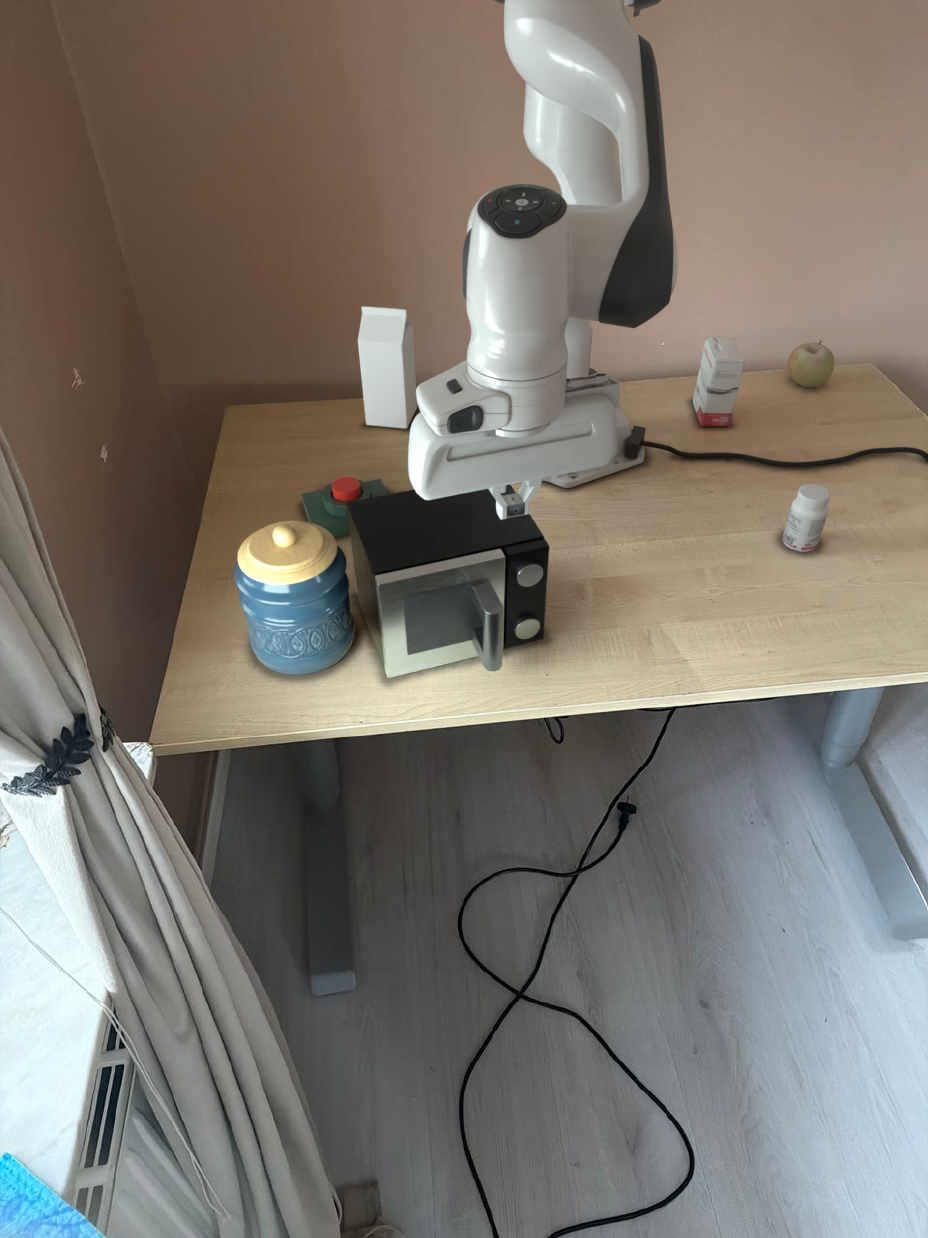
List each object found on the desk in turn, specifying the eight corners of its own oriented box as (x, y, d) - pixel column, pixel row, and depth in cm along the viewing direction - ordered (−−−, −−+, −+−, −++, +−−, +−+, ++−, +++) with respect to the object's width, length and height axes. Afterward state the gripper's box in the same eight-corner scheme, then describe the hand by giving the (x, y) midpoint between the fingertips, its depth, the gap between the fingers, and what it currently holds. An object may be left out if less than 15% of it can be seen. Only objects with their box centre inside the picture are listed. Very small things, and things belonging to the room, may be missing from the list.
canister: (362, 668, 108) (347, 553, 96) (253, 685, 106) (224, 571, 94) (349, 598, 117) (334, 486, 105) (249, 613, 115) (222, 500, 103)
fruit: (826, 375, 160) (838, 332, 155) (829, 394, 155) (841, 351, 149) (782, 370, 161) (793, 328, 156) (783, 390, 156) (794, 347, 151)
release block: (381, 490, 135) (379, 468, 133) (397, 524, 129) (395, 501, 126) (303, 505, 133) (299, 483, 130) (315, 541, 127) (311, 518, 124)
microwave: (545, 644, 111) (552, 548, 100) (389, 682, 106) (379, 586, 96) (500, 564, 122) (502, 471, 112) (357, 596, 118) (345, 502, 108)
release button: (357, 484, 130) (356, 474, 129) (363, 499, 128) (362, 489, 126) (330, 489, 130) (329, 479, 128) (336, 504, 127) (335, 494, 125)
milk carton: (407, 429, 148) (400, 319, 135) (366, 425, 149) (355, 315, 136) (417, 408, 153) (411, 299, 140) (377, 404, 154) (368, 296, 142)
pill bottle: (818, 535, 126) (834, 485, 120) (816, 555, 123) (833, 505, 117) (783, 529, 127) (797, 479, 121) (780, 549, 124) (795, 498, 118)
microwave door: (519, 682, 106) (523, 587, 96) (400, 712, 103) (391, 617, 93) (498, 641, 111) (500, 548, 101) (384, 669, 108) (374, 575, 98)
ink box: (731, 427, 147) (746, 360, 139) (700, 427, 148) (713, 360, 139) (721, 400, 154) (734, 335, 146) (691, 401, 154) (703, 335, 146)
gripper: (607, 354, 85) (594, 478, 94) (398, 389, 80) (407, 515, 90) (637, 385, 80) (620, 511, 90) (417, 423, 76) (424, 552, 85)
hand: (512, 513), depth 90 cm, fingers closed
